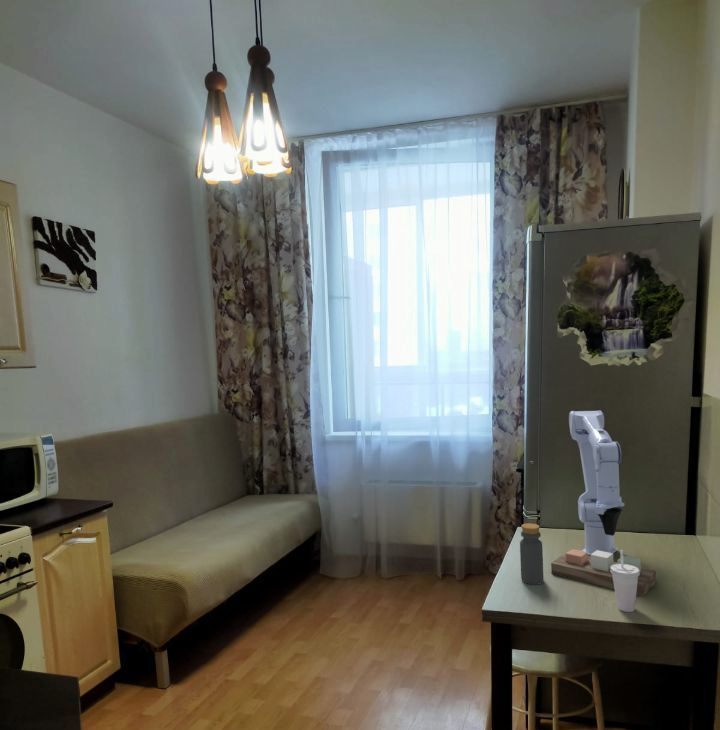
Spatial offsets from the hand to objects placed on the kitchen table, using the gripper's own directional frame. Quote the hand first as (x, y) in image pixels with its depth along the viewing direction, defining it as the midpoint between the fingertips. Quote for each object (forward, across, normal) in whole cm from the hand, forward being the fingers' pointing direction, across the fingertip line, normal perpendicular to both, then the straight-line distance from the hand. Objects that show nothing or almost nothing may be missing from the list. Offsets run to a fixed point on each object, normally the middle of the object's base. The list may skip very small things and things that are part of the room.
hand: (609, 534), depth 159 cm
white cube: (+8, -6, 0) cm, 10 cm away
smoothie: (+11, -20, -11) cm, 26 cm away
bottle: (+11, -18, +14) cm, 26 cm away
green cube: (+8, -6, -7) cm, 12 cm away
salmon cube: (+9, -6, +7) cm, 13 cm away
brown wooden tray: (+10, -6, 0) cm, 12 cm away
